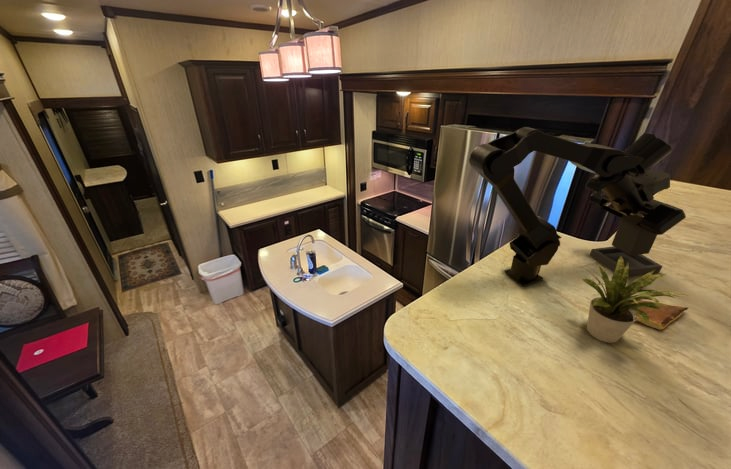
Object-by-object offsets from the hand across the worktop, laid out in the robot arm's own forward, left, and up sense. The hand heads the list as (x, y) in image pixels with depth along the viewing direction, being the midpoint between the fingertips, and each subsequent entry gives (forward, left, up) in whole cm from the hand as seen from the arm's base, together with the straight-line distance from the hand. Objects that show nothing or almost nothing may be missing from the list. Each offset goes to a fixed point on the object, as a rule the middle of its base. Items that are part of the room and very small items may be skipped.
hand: (644, 225), depth 71 cm
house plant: (-29, -15, -12) cm, 35 cm away
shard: (-14, -14, -12) cm, 23 cm away
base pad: (-1, 0, -11) cm, 11 cm away
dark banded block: (-1, 0, -7) cm, 7 cm away
